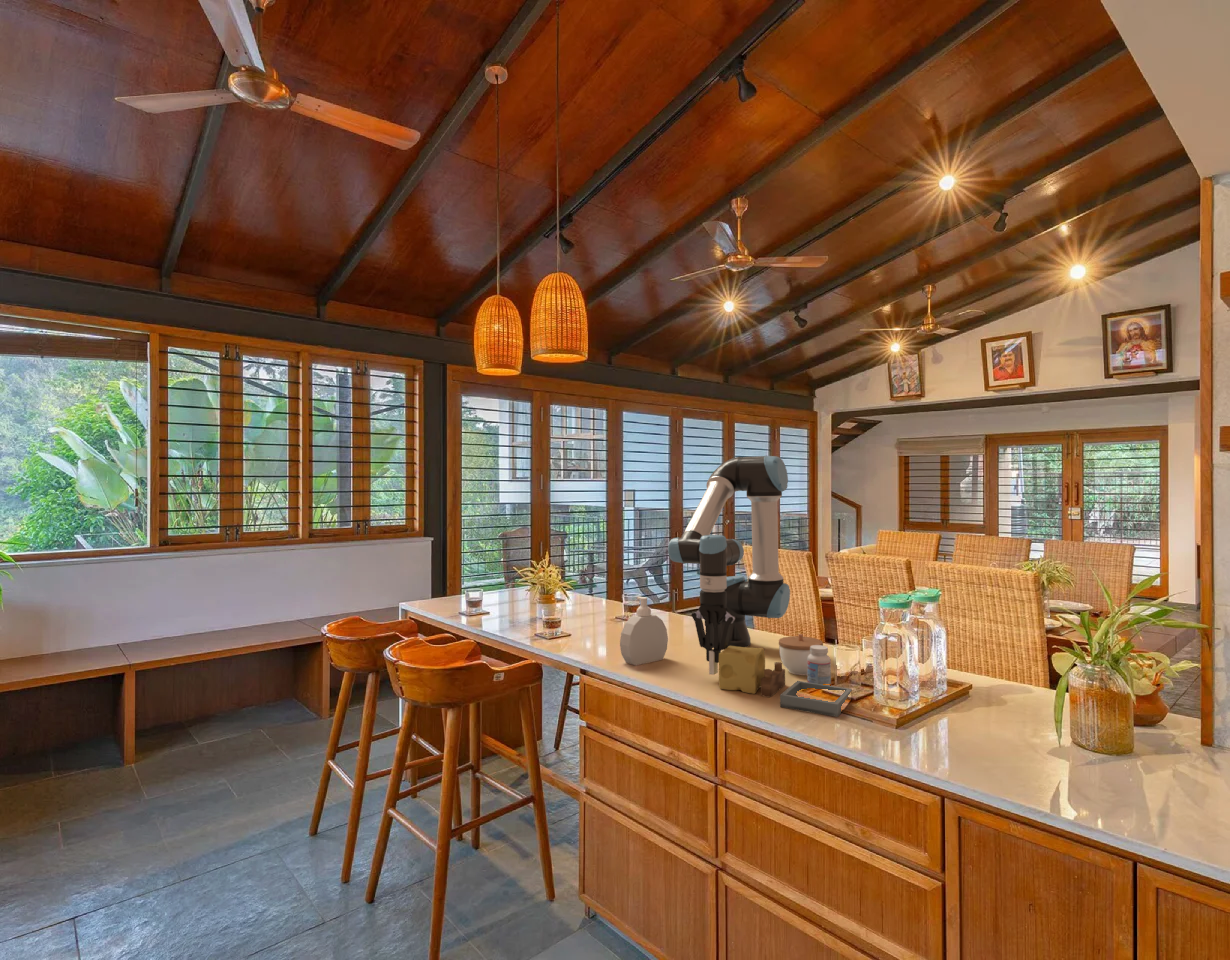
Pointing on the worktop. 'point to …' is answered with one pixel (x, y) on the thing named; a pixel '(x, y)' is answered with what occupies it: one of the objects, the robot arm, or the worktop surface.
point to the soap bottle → (643, 637)
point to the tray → (812, 705)
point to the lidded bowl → (796, 652)
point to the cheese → (741, 668)
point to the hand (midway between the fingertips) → (713, 673)
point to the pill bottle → (819, 665)
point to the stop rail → (772, 680)
